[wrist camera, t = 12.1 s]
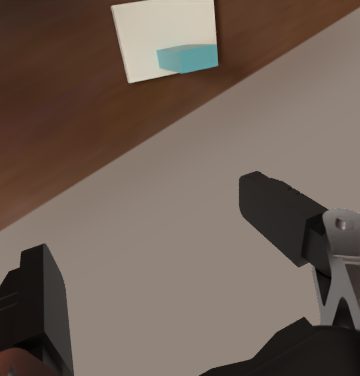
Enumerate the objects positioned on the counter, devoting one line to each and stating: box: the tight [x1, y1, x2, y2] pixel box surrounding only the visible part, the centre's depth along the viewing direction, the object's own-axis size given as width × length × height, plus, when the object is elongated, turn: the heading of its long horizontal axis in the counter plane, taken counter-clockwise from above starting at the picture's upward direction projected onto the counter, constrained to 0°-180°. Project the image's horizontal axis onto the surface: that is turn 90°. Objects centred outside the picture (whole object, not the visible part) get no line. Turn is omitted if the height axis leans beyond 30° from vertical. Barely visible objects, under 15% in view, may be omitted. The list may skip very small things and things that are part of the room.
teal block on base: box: [111, 0, 218, 83], centre depth 30 cm, size 12×8×9 cm, turn 99°
